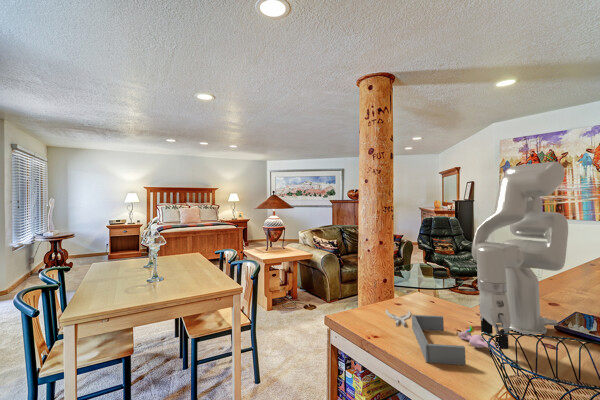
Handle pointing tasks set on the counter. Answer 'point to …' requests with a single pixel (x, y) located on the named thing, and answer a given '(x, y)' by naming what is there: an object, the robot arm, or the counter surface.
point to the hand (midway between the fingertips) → (494, 340)
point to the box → (436, 351)
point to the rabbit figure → (474, 338)
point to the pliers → (399, 318)
